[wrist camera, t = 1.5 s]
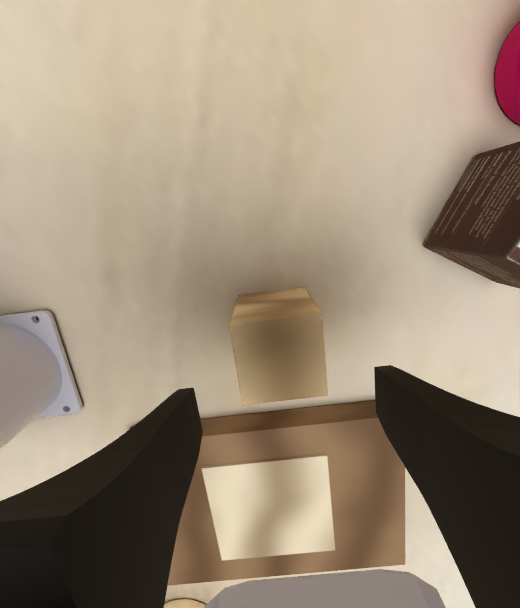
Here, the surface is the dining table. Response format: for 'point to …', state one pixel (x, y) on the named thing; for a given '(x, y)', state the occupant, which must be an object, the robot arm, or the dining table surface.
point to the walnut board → (292, 496)
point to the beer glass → (184, 604)
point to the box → (484, 218)
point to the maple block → (278, 346)
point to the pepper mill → (509, 75)
